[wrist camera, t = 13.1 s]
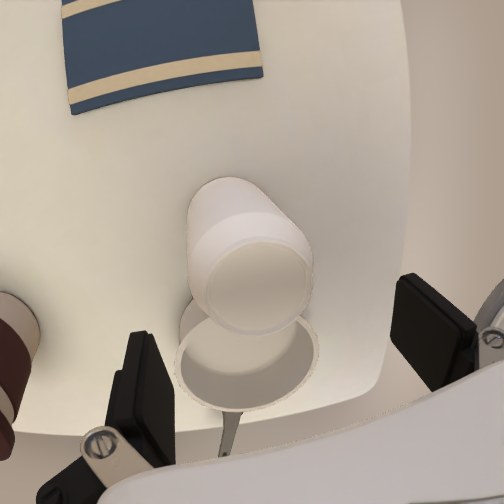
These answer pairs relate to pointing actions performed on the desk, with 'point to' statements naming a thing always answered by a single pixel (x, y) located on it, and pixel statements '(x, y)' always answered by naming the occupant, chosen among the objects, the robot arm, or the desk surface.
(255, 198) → the beverage can
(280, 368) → the saucepan
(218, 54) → the towel
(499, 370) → the robot arm
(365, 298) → the desk surface
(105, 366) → the desk surface
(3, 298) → the coffee cup
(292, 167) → the desk surface
